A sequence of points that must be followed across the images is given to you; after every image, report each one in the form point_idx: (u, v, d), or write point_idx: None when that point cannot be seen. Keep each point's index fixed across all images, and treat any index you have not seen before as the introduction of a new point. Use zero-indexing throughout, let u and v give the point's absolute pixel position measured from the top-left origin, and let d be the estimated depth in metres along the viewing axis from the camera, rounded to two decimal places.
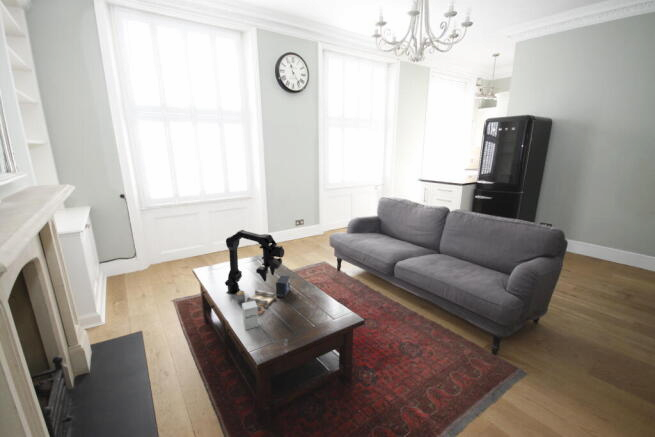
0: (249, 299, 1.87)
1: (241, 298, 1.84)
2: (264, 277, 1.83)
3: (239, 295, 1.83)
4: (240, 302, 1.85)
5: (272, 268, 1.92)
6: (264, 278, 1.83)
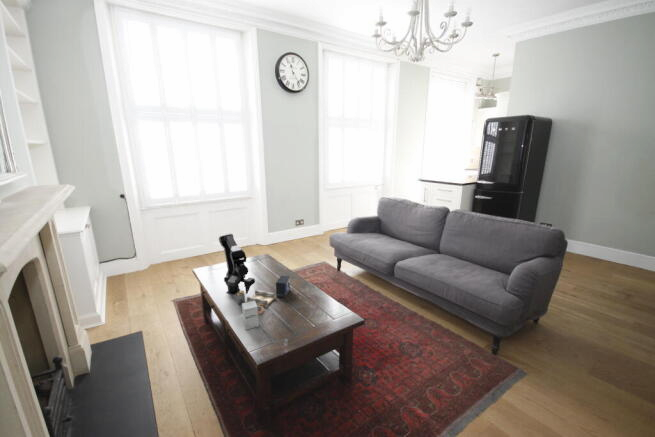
0: (249, 299, 1.87)
1: (241, 298, 1.84)
2: None
3: (239, 295, 1.83)
4: (240, 302, 1.85)
5: None
6: None
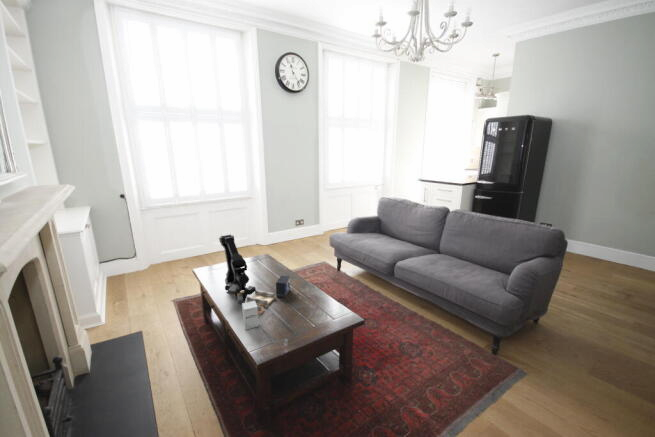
0: (249, 299, 1.87)
1: (241, 298, 1.84)
2: None
3: (239, 295, 1.83)
4: (240, 302, 1.85)
5: None
6: None
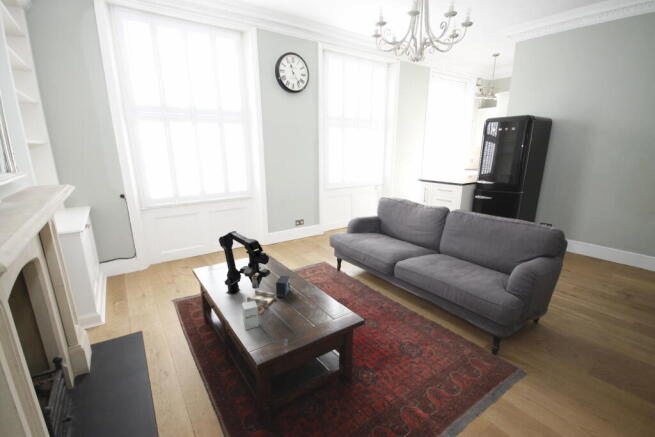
0: (249, 299, 1.87)
1: (256, 281, 1.84)
2: None
3: (254, 278, 1.83)
4: (255, 285, 1.84)
5: None
6: None
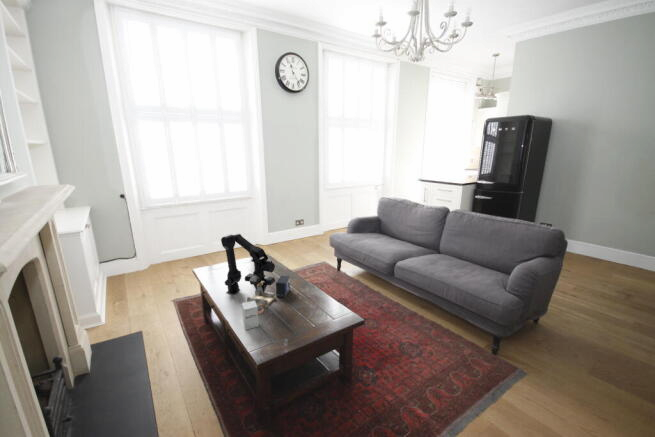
0: (249, 299, 1.87)
1: (261, 289, 1.86)
2: None
3: (259, 286, 1.85)
4: (260, 293, 1.87)
5: None
6: None
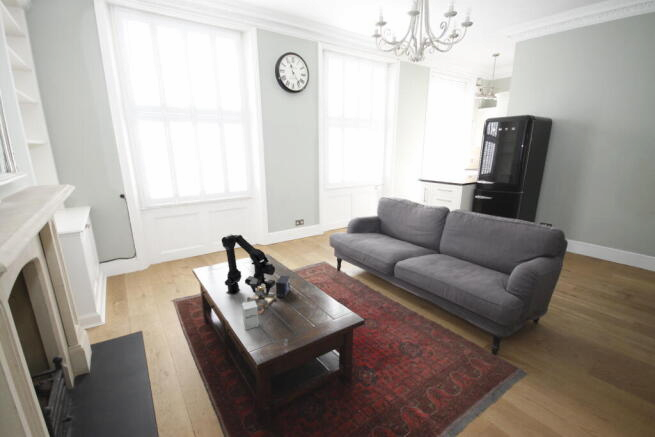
0: (249, 299, 1.87)
1: (261, 294, 1.87)
2: None
3: (259, 291, 1.86)
4: (260, 297, 1.88)
5: None
6: None
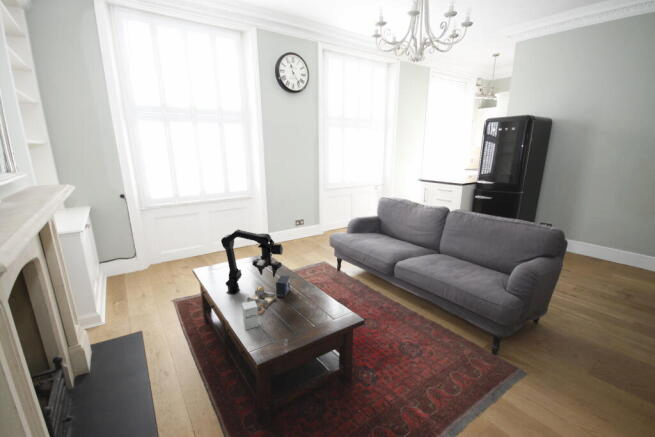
0: (249, 299, 1.87)
1: (261, 294, 1.87)
2: None
3: (259, 291, 1.86)
4: (260, 297, 1.88)
5: None
6: None
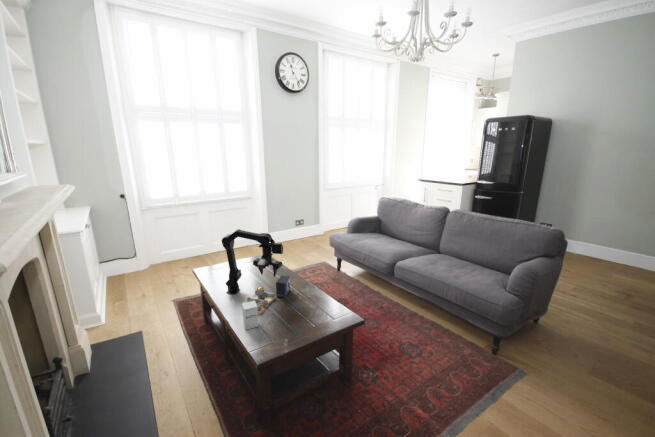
0: (249, 299, 1.87)
1: (261, 294, 1.87)
2: None
3: (259, 291, 1.86)
4: (260, 297, 1.88)
5: None
6: None
